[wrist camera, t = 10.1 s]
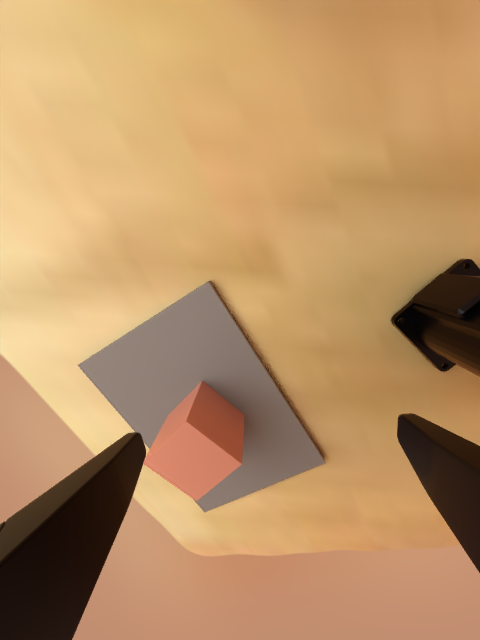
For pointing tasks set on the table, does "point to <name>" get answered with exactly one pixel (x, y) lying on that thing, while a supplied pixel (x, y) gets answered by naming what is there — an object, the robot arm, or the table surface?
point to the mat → (218, 373)
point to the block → (198, 442)
